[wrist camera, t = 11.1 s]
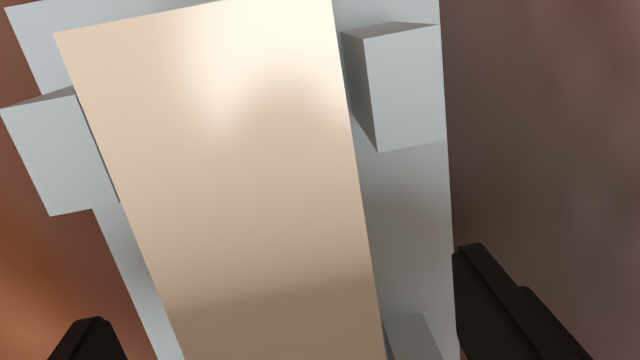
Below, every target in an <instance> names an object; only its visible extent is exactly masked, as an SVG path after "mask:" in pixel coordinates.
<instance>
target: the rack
mask: <svg viewBox="0 0 640 360" xmlns="http://www.w3.org/2000/svg"><path fill="white" fill-rule="evenodd" d="M216 1H221V0H42V1H37V2H32V3H27V4H22V5H16V6H11V7H6V8H4V9H5V11H6V14H7V16H8V18H9V21H10V23H11V25H12V27H13V30H14V32H15V34H16V36H17V39H18V41H19V43H20V46H21V48H22V50H23V52H24V55H25V57H26V59H27V62H28V64H29V66H30V68H31V71H32V73H33V75H34V78H35V80H36V82H37V84H38V87H39V89H40V91H41V93H42V95H41V96H38V97H34V98H31V99H28V100H25V101H22V102H19V103H16V104H13V105H10V106H7V107H4V108H1V109H0V115H1V117H2V119H3V121H4V123H5V125H6V127H7V129H8V131H9V134H10V136H11V138H12V140H13V142H14V144H15V146H16V148H17V150H18V152H19V154H20V156H21V158H22V160H23V162H24V164H25V166H26V168H27V170H28V173H29V175H30V177H31V179H32V181H33V183H34V185H35V187H36V189H37V191H38V193H39V195H40V197H41V199H42V201H43V203H44V205H45V207H46V209H47V212H48V214H49V216H55V215H60V214H66V213H71V212H76V211H81V210H86V209H91V208H92V210H93V212H94V214H95V217H96V219H97V221H98V223H99V226H100V228H101V230H102V232H103V235H104V237H105V239H106V242H107V244H108V246H109V248H110V251H111V253H112V255H113V258H114V260H115V262H116V264H117V267H118V269H119V271H120V273H121V276H122V278H123V280H124V283H125V285H126V287H127V289H128V292H129V294H130V296H131V299H132V301H133V303H134V305H135V308H136V310H137V312H138V315H139V317H140V319H141V321H142V324H143V326H144V328H145V330H146V333H147V335H148V337H149V340H150V342H151V344H152V346H153V349H154V351H155V353H156V356H157V358H158V360H185V358H184V356H183V353H182V351H181V348H180V346H179V344H178V341H177V339H176V336H175V334H174V331H173V329H172V326H171V324H170V321H169V319H168V317H167V314H166V312H165V309H164V307H163V304H162V302H161V299H160V297H159V294H158V292H157V290H156V287H155V285H154V282H153V280H152V277H151V275H150V272H149V270H148V267H147V265H146V263H145V260H144V258H143V255H142V253H141V250H140V248H139V245H138V243H137V240H136V238H135V236H134V233H133V231H132V228H131V226H130V223H129V221H128V218H127V216H126V213H125V211H124V209H123V206H122V204H121V201H120V199H119V196H118V194H117V191H116V189H115V186H114V184H113V182H112V179H111V177H110V174H109V172H108V169H107V167H106V164H105V162H104V159H103V157H102V155H101V152H100V150H99V147H98V145H97V142H96V140H95V137H94V135H93V132H92V130H91V128H90V125H89V123H88V120H87V118H86V115H85V113H84V110H83V108H82V105H81V103H80V101H79V98H78V96H77V93H76V91H75V88H74V86H73V83H72V81H71V78H70V76H69V74H68V71H67V69H66V66H65V64H64V61H63V59H62V56H61V54H60V51H59V49H58V47H57V44H56V42H55V39H54V37H53V34H52V33H56V32H61V31H66V30H71V29H77V28H82V27H87V26H92V25H97V24H102V23H108V22H113V21H118V20H123V19H128V18H133V17H138V16H144V15H149V14H154V13H159V12H164V11H169V10H175V9H180V8H185V7H190V6H195V5H200V4H205V3H211V2H216ZM331 3H332V9H333V15H334V22H335V28H336V35H337V41H338V48H339V54H340V61H341V67H342V74H343V80H344V87H345V93H346V100H347V106H348V113H349V119H350V126H351V132H352V139H353V145H354V152H355V158H356V165H357V171H358V178H359V184H360V190H361V197H362V203H363V210H364V216H365V223H366V229H367V236H368V242H369V249H370V255H371V262H372V268H373V275H374V281H375V288H376V294H377V301H378V307H379V314H380V320H381V327H382V333H383V340H384V346H385V353H386V359H387V360H460V348H459V340H458V337H457V333H456V320H455V305H454V289H453V274H452V254H453V253H454V248H453V231H452V214H451V198H450V181H449V164H448V147H447V131H446V114H445V97H444V80H443V64H442V47H441V30H440V14H439V0H331Z"/></svg>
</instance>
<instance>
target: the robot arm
mask: <svg viewBox="0 0 640 360" xmlns="http://www.w3.org/2000/svg"><path fill="white" fill-rule="evenodd" d="M452 274H453V289H454V305H455V320H456V333H457V337H458V340H459V343H460V345H461V347H462V349H463V351H464V353H465V355H466V357H467V358H468V360H593V359H592V358H591V356H590V355H589V354H588V353H587V352H586V351H585V350H584V349H583V347H582V346H581V345H580V344H579V343H578V342H577V341H576V340H575V338H574V337H573V336H572V335H571V334H570V333H569V332H568V331H567V329H566V328H565V327H564V326H563V325H562V324H561V323H560V322H559V321H558V319H557V318H556V317H555V316H554V315H553V314H552V313H551V312H550V310H549V309H548V308H547V307H546V306H545V305H544V304H543V303H542V301H541V300H540V299H539V298H538V297H537V296H536V295H535V294H534V292H533V291H532V290H531V289H529V288H528V287H526V286H520V287H518V286H517V285H516V284H515V282H514V281H513V280H512V279H511V278H510V277H509V275H508V274H507V273H506V272H505V271H504V269H503V268H502V267H501V266H500V265H499V264H498V262H497V261H496V260H495V259H494V258H493V257H492V255H491V254H490V253H489V252H488V251H487V250H486V248H485V247H484V246H483V245H482V244H481V243H475V244H470V245H464V246H459V247H458V250H457V253H453V254H452ZM47 360H128V359H127V357H126V355H125V353H124V351H123V349H122V347H121V344H120V342H119V340H118V338H117V336H116V334H115V332H114V330H113V328H112V325H111V324H110V322H109V321H107V320H104V319H103V318H102V317H100V316H96V317H91V318H86V319H80V320H77V321H75V322H74V323H73V324H72V325H71V327H70V328H69V329H68V331H67V332H66V334H65V335H64V336H63V338H62V339H61V341H60V342H59V344H58V345H57V346H56V348H55V349H54V351H53V352H52V354H51V355H50V356H49V358H48V359H47Z"/></svg>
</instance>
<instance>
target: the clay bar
mask: <svg viewBox="0 0 640 360" xmlns="http://www.w3.org/2000/svg"><path fill="white" fill-rule="evenodd" d="M52 34H53V37H54V39H55V42H56V44H57V47H58V49H59V51H60V54H61V56H62V59H63V61H64V64H65V66H66V69H67V71H68V74H69V76H70V78H71V81H72V83H73V86H74V88H75V91H76V93H77V96H78V98H79V101H80V103H81V105H82V108H83V110H84V113H85V115H86V118H87V120H88V123H89V125H90V128H91V130H92V132H93V135H94V137H95V140H96V142H97V145H98V147H99V150H100V152H101V155H102V157H103V159H104V162H105V164H106V167H107V169H108V172H109V174H110V177H111V179H112V182H113V184H114V186H115V189H116V191H117V194H118V196H119V199H120V201H121V204H122V206H123V209H124V211H125V213H126V216H127V218H128V221H129V223H130V226H131V228H132V231H133V233H134V236H135V238H136V240H137V243H138V245H139V248H140V250H141V253H142V255H143V258H144V260H145V263H146V265H147V267H148V270H149V272H150V275H151V277H152V280H153V282H154V285H155V287H156V290H157V292H158V294H159V297H160V299H161V302H162V304H163V307H164V309H165V312H166V314H167V317H168V319H169V321H170V324H171V326H172V329H173V331H174V334H175V336H176V339H177V341H178V344H179V346H180V348H181V351H182V353H183V356H184V358H185V360H387V359H386V353H385V346H384V340H383V333H382V327H381V320H380V314H379V307H378V301H377V294H376V288H375V281H374V275H373V268H372V262H371V255H370V249H369V242H368V236H367V229H366V223H365V216H364V210H363V203H362V197H361V190H360V184H359V178H358V171H357V165H356V158H355V152H354V145H353V139H352V132H351V126H350V119H349V113H348V106H347V100H346V93H345V87H344V80H343V74H342V67H341V61H340V54H339V48H338V41H337V35H336V28H335V22H334V15H333V9H332V3H331V0H221V1H216V2H211V3H205V4H200V5H195V6H190V7H185V8H180V9H175V10H169V11H164V12H159V13H154V14H149V15H144V16H138V17H133V18H128V19H123V20H118V21H113V22H108V23H102V24H97V25H92V26H87V27H82V28H77V29H71V30H66V31H61V32H56V33H52Z"/></svg>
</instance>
